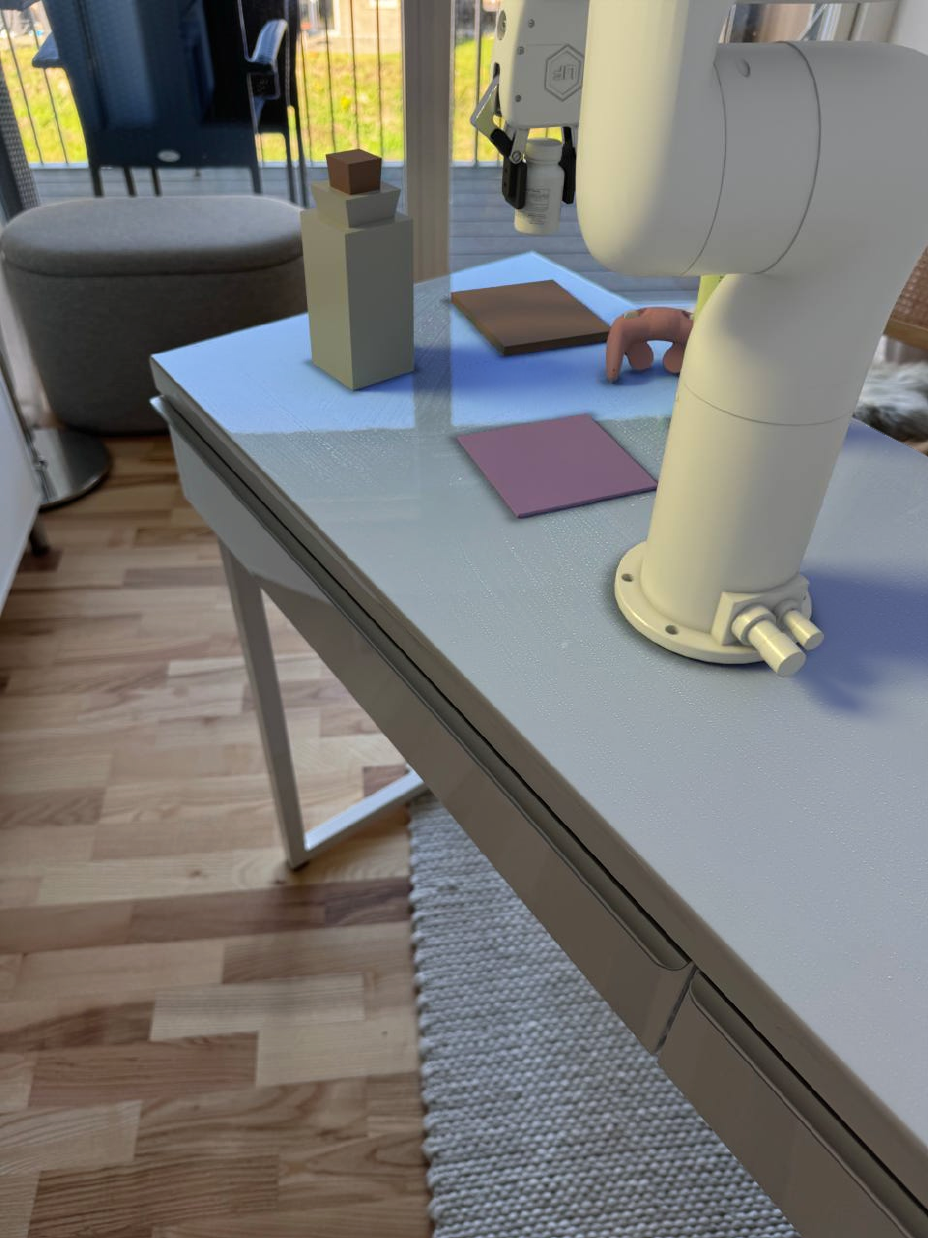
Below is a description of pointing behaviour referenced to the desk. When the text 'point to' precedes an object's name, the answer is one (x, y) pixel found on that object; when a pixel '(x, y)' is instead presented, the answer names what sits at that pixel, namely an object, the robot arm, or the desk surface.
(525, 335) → the board
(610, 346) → the video game controller
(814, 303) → the robot arm
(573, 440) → the purple square plate
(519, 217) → the pill bottle
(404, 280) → the perfume bottle
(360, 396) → the desk surface
